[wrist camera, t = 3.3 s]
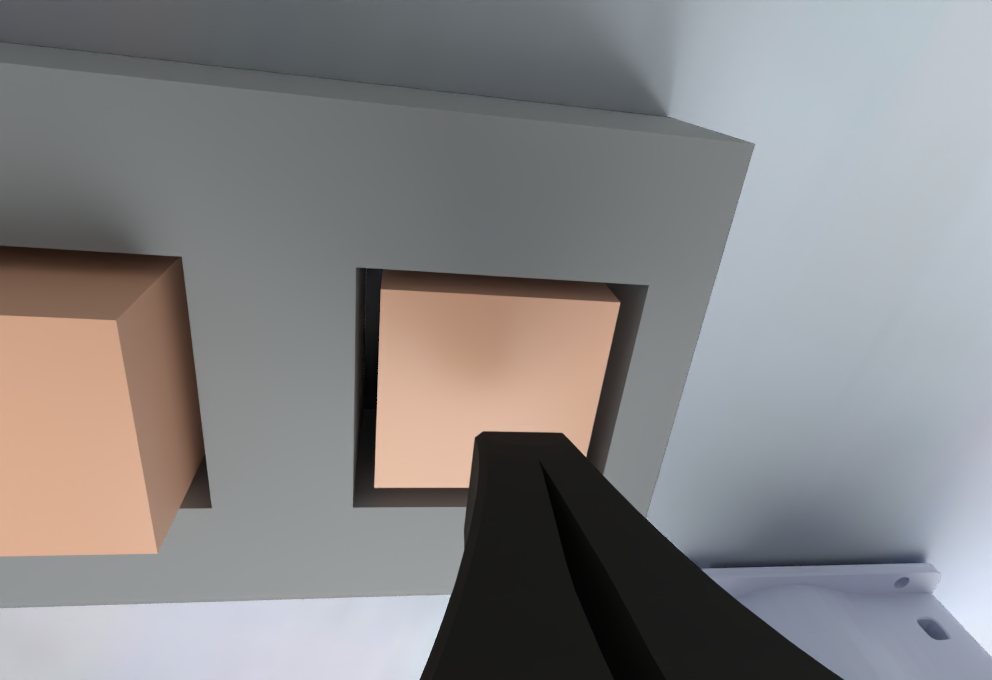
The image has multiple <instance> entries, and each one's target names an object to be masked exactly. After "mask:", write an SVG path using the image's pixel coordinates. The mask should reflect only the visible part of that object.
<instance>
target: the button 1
mask: <svg viewBox="0 0 992 680" xmlns="http://www.w3.org/2000/svg"><path fill="white" fill-rule="evenodd" d="M204 455H205V446H204V438H203V429H202V421H201V413H200V404H199V396H198V387H197V379H196V371H195V362H194V354H193V346H192V337H191V329H190V321H189V312H188V304H187V295H186V287H185V279H184V270H183V262H182V257H179V256H162V255H146V254H130V253H113V252H97V251H81V250H64V249H48V248H32V247H15V246H0V556H57V555H114V554H158V552H159V550H160V548H161V546H162V543H163V541H164V539H165V537H166V535H167V533H168V531H169V529H170V527H171V524H172V522H173V520H174V518H175V516H176V514H177V512H178V510H179V508H180V506H181V503H182V501H183V499H184V497H185V495H186V493H187V491H188V489H189V487H190V485H191V482H192V480H193V478H194V476H195V474H196V472H197V470H198V468H199V466H200V463H201V461H202V459H203V457H204Z"/></svg>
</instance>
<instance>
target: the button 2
mask: <svg viewBox="0 0 992 680" xmlns="http://www.w3.org/2000/svg"><path fill="white" fill-rule="evenodd" d="M620 303H621V302H620V301H619V300H618V299H617V298H616V296H615V295H614V294H613V293H612V291H611V290H610V289H609V288H608V286H607V285H606V284H605V283H603V282H587V281H570V280H554V279H538V278H521V277H505V276H489V275H472V274H456V273H440V272H423V271H407V270H391V269H383V271H382V281H381V298H380V328H379V359H378V389H377V420H376V450H375V481H374V488H469V482H470V473H471V465H472V456H473V448H474V440H475V437H476V436H477V435H479V434H480V433H481V432H483V431H501V432H555V433H563V434H564V435H565V436H566V437H567V438H568V439H569V440H570V441H571V442H572V443H573V444H574V445H575V446H576V447H577V448H578V449H579V450H580V451H581V452H582V453H583V455H584V456H585V457H586V456H587V451H588V447H589V442H590V438H591V433H592V429H593V424H594V420H595V415H596V411H597V406H598V402H599V397H600V393H601V388H602V384H603V379H604V375H605V370H606V366H607V361H608V357H609V352H610V348H611V343H612V339H613V334H614V330H615V325H616V321H617V316H618V312H619V307H620Z"/></svg>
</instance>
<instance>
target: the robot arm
mask: <svg viewBox="0 0 992 680" xmlns="http://www.w3.org/2000/svg"><path fill="white" fill-rule="evenodd" d="M940 578H941V575H940V572H939V571H938V570H937V569H936V568H935V567H934V566H933V565H931V564H929V563H905V564H865V565H825V566H785V567H745V568H705V569H700V568H699V567H698V566H697V565H696V564H694V563H693V562H692V561H691V560H690V559H689V558H688V557H686V556H685V555H684V554H683V553H682V552H681V551H680V550H679V549H677V548H676V547H675V546H674V545H673V544H672V543H671V542H670V541H669V540H668V539H667V538H666V537H665V536H664V535H662V534H661V533H660V532H659V531H658V530H657V529H656V528H655V527H654V526H653V525H652V524H651V523H650V522H649V521H648V520H647V519H646V518H645V517H644V516H643V515H642V514H641V513H640V512H639V511H638V510H637V509H636V508H635V507H634V506H633V505H632V504H631V503H630V502H629V501H628V500H627V499H626V498H625V497H624V496H623V495H622V494H621V493H620V492H619V491H618V490H617V489H616V488H615V487H614V486H613V485H612V484H611V483H610V482H609V481H608V480H607V479H606V478H605V477H604V476H603V475H602V474H601V472H600V471H599V470H598V469H597V468H596V467H595V466H594V465H593V464H592V463H591V462H590V461H589V460H588V459H587V458H586V457H585V456H584V455H583V453H582V452H581V451H580V450H579V449H578V448H577V447H576V446H575V445H574V444H573V443H572V442H571V441H570V440H569V439H568V438H567V437H566V436H565V435H564V434H563V433H555V432H501V431H483V432H481V433H480V434H479V435H477V436H476V437H475V440H474V448H473V456H472V465H471V473H470V482H469V490H468V498H467V507H466V515H465V524H464V553H463V556H462V560H461V564H460V567H459V571H458V574H457V578H456V581H455V585H454V588H453V591H452V594H451V597H450V600H449V603H448V606H447V609H446V612H445V615H444V618H443V621H442V623H441V626H440V629H439V632H438V634H437V637H436V640H435V643H434V645H433V648H432V651H431V653H430V656H429V658H428V661H427V663H426V666H425V668H424V670H423V673H422V675H421V678H420V680H992V657H991V656H990V655H989V654H988V653H987V652H986V651H985V650H984V649H983V648H982V647H981V645H980V644H979V643H978V642H977V641H976V640H975V639H974V638H973V637H972V636H971V635H970V634H969V633H968V632H967V631H966V630H965V628H964V627H963V626H962V625H961V624H960V623H959V622H958V621H957V620H956V619H955V618H954V617H953V616H952V615H951V614H950V613H949V612H948V610H947V609H946V608H945V607H944V606H943V605H942V604H941V603H940V602H939V601H938V600H937V599H936V598H935V597H934V596H933V595H932V593H933V591H934V589H935V588H936V586H937V584H938V583H939V581H940Z"/></svg>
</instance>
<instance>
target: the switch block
mask: <svg viewBox="0 0 992 680" xmlns="http://www.w3.org/2000/svg"><path fill="white" fill-rule="evenodd" d="M754 145H755V144H753V143H750V142H747V141H744V140H741V139H737V138H734V137H731V136H728V135H725V134H721V133H718V132H715V131H712V130H708V129H705V128H702V127H699V126H696V125H692V124H689V123H686V122H683V121H680V120H676V119H673V118H670V117H662V116H653V115H644V114H635V113H627V112H618V111H609V110H600V109H591V108H582V107H573V106H565V105H556V104H547V103H538V102H529V101H520V100H511V99H503V98H494V97H485V96H476V95H467V94H458V93H449V92H441V91H432V90H423V89H414V88H405V87H396V86H387V85H379V84H370V83H361V82H352V81H343V80H334V79H325V78H317V77H308V76H299V75H290V74H281V73H272V72H263V71H255V70H246V69H237V68H228V67H219V66H210V65H201V64H193V63H184V62H175V61H166V60H157V59H148V58H139V57H131V56H122V55H113V54H104V53H95V52H86V51H78V50H69V49H60V48H51V47H42V46H33V45H24V44H16V43H7V42H0V246H15V247H32V248H48V249H64V250H81V251H97V252H113V253H130V254H146V255H162V256H179V257H182V262H183V270H184V279H185V287H186V295H187V304H188V312H189V321H190V329H191V337H192V346H193V354H194V362H195V371H196V379H197V387H198V396H199V404H200V413H201V421H202V429H203V438H204V446H205V455H204V457H203V459H202V461H201V463H200V466H199V468H198V470H197V472H196V474H195V476H194V478H193V480H192V482H191V485H190V487H189V489H188V491H187V493H186V495H185V497H184V499H183V501H182V503H181V506H180V508H179V510H178V512H177V514H176V516H175V518H174V520H173V522H172V524H171V527H170V529H169V531H168V533H167V535H166V537H165V539H164V541H163V543H162V546H161V548H160V550H159V552H158V554H114V555H57V556H0V608H21V607H53V606H86V605H119V604H151V603H184V602H216V601H249V600H282V599H314V598H347V597H380V596H412V595H445V594H452V591H453V588H454V585H455V581H456V578H457V574H458V571H459V567H460V564H461V560H462V556H463V553H464V524H465V515H466V507H467V498H468V490H469V488H374V481H375V450H376V420H377V410H363V408H364V361H365V314H366V268H375V269H391V270H407V271H423V272H440V273H456V274H472V275H489V276H505V277H521V278H538V279H554V280H570V281H587V282H603V283H605V284H606V285H607V286H608V288H609V289H610V290H611V291H612V293H613V294H614V295H615V296H616V298H617V299H618V300H619V301H620V302H621V303H620V307H619V312H618V316H617V321H616V325H615V330H614V334H613V339H612V343H611V348H610V352H609V357H608V361H607V366H606V370H605V375H604V379H603V384H602V388H601V393H600V397H599V402H598V406H597V411H596V415H595V420H594V424H593V429H592V433H591V438H590V442H589V447H588V451H587V456H586V458H587V459H588V460H589V461H590V462H591V463H592V464H593V465H594V466H595V467H596V468H597V469H598V470H599V471H600V472H601V474H602V475H603V476H604V477H605V478H606V479H607V480H608V481H609V482H610V483H611V484H612V485H613V486H614V487H615V488H616V489H617V490H618V491H619V492H620V493H621V494H622V495H623V496H624V497H625V498H626V499H627V500H628V501H629V502H630V503H631V504H632V505H633V506H634V507H635V508H636V509H637V510H638V511H639V512H640V513H641V514H642V515H643V516H644V517H645V518H646V515H647V512H648V508H649V505H650V502H651V498H652V495H653V491H654V488H655V484H656V481H657V478H658V474H659V471H660V467H661V464H662V460H663V457H664V454H665V450H666V447H667V443H668V440H669V436H670V433H671V430H672V426H673V423H674V419H675V416H676V412H677V409H678V406H679V402H680V399H681V395H682V392H683V388H684V385H685V382H686V378H687V375H688V371H689V368H690V364H691V361H692V358H693V354H694V351H695V347H696V344H697V340H698V337H699V334H700V330H701V327H702V323H703V320H704V317H705V313H706V310H707V306H708V303H709V299H710V296H711V293H712V289H713V286H714V282H715V279H716V275H717V272H718V269H719V265H720V262H721V258H722V255H723V251H724V248H725V245H726V241H727V238H728V234H729V231H730V227H731V224H732V221H733V217H734V214H735V210H736V207H737V203H738V200H739V197H740V193H741V190H742V186H743V183H744V179H745V176H746V173H747V169H748V166H749V162H750V159H751V155H752V152H753V149H754Z"/></svg>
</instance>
